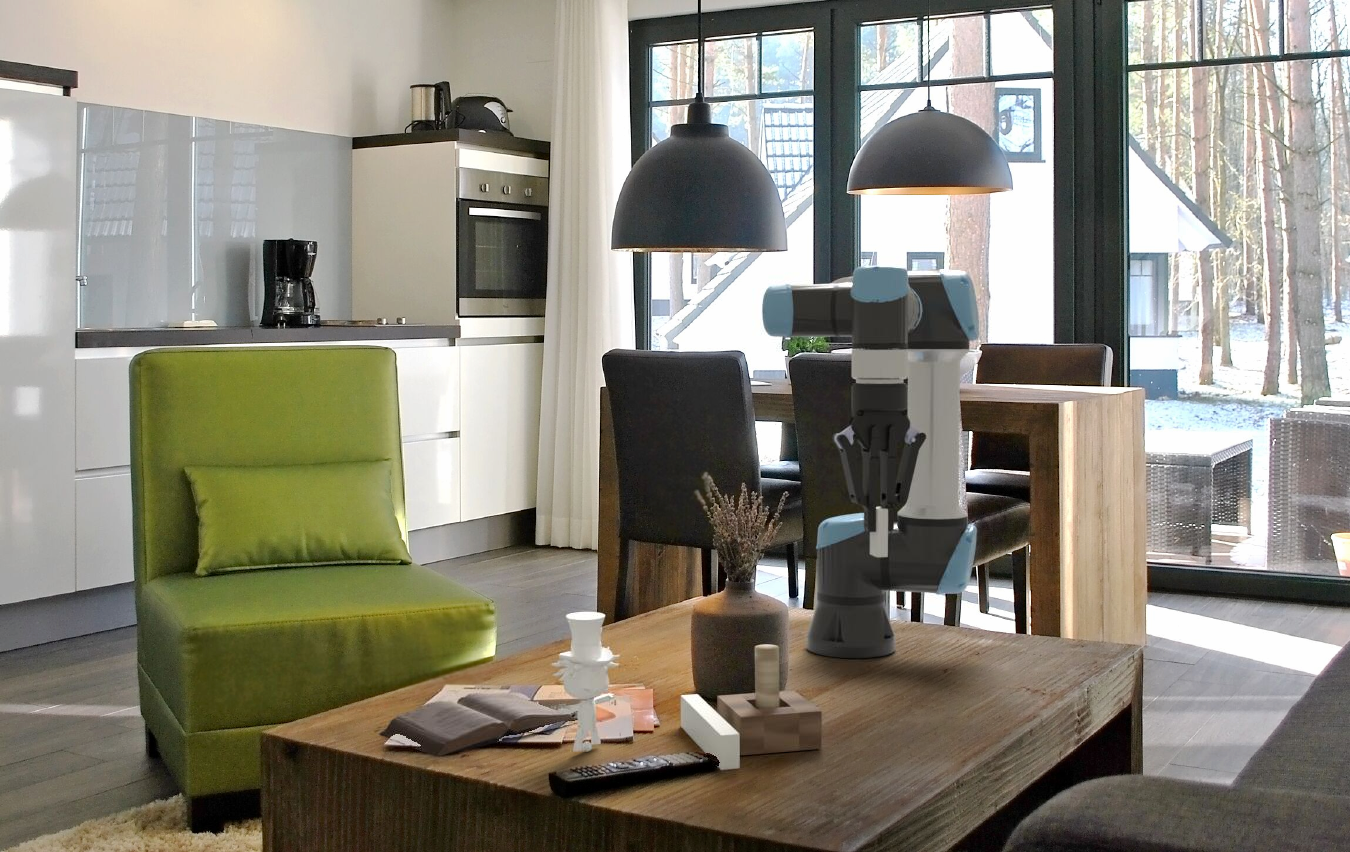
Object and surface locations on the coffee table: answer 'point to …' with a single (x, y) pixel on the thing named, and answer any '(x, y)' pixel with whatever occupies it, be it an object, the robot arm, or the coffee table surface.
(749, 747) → the block
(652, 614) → the coffee table surface
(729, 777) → the coffee table surface
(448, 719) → the book
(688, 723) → the wall
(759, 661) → the dowel
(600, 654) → the figurine
